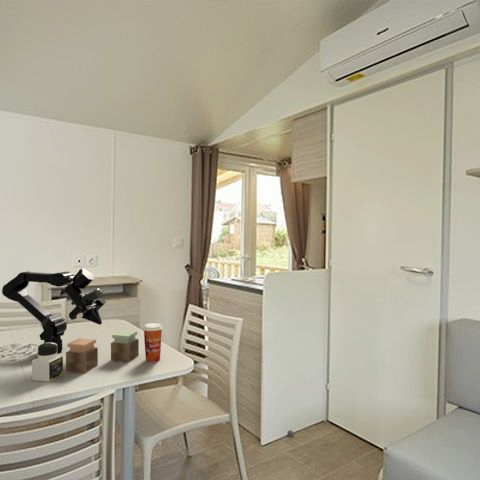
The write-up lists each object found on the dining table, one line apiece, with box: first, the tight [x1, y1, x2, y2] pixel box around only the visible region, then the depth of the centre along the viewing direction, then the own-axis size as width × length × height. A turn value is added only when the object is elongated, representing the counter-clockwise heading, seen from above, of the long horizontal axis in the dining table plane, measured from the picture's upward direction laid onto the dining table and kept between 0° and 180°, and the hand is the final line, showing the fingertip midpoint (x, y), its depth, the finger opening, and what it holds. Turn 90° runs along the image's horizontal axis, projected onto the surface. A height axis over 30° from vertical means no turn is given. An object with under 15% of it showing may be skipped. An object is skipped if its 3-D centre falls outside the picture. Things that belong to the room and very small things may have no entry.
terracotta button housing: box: [65, 346, 99, 374], centre depth 144 cm, size 8×8×7 cm
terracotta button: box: [67, 337, 97, 353], centre depth 144 cm, size 7×7×7 cm
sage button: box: [111, 329, 138, 344], centre depth 155 cm, size 7×7×7 cm
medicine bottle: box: [31, 342, 64, 383], centre depth 135 cm, size 7×7×12 cm
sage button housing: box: [110, 338, 140, 363], centre depth 156 cm, size 8×8×7 cm
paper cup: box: [142, 322, 163, 363], centre depth 154 cm, size 8×8×14 cm
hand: (100, 323), depth 158 cm, fingers closed
